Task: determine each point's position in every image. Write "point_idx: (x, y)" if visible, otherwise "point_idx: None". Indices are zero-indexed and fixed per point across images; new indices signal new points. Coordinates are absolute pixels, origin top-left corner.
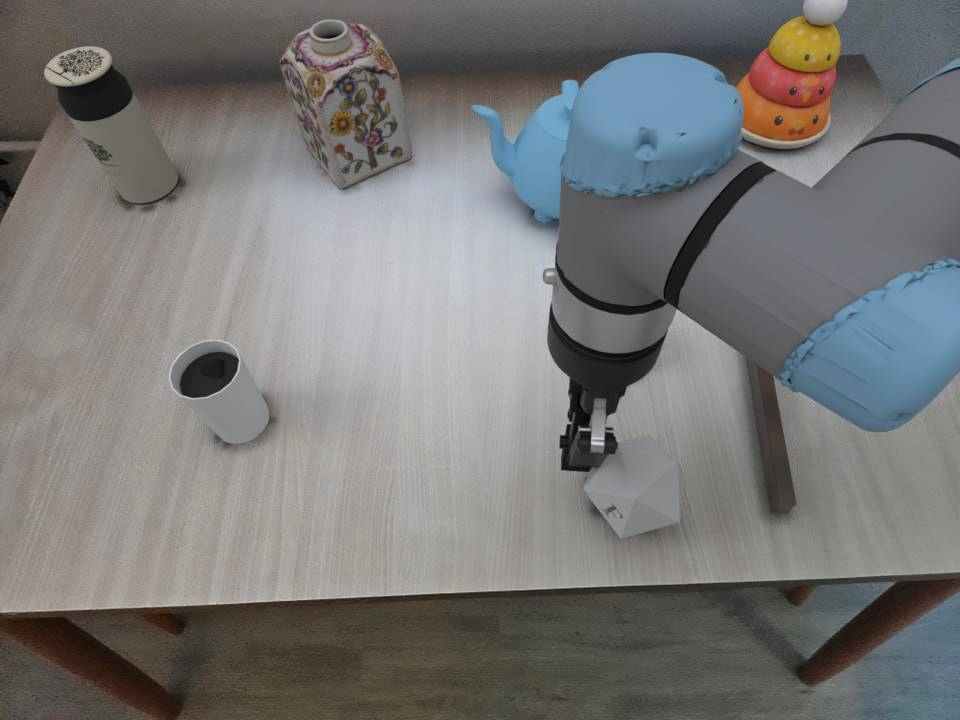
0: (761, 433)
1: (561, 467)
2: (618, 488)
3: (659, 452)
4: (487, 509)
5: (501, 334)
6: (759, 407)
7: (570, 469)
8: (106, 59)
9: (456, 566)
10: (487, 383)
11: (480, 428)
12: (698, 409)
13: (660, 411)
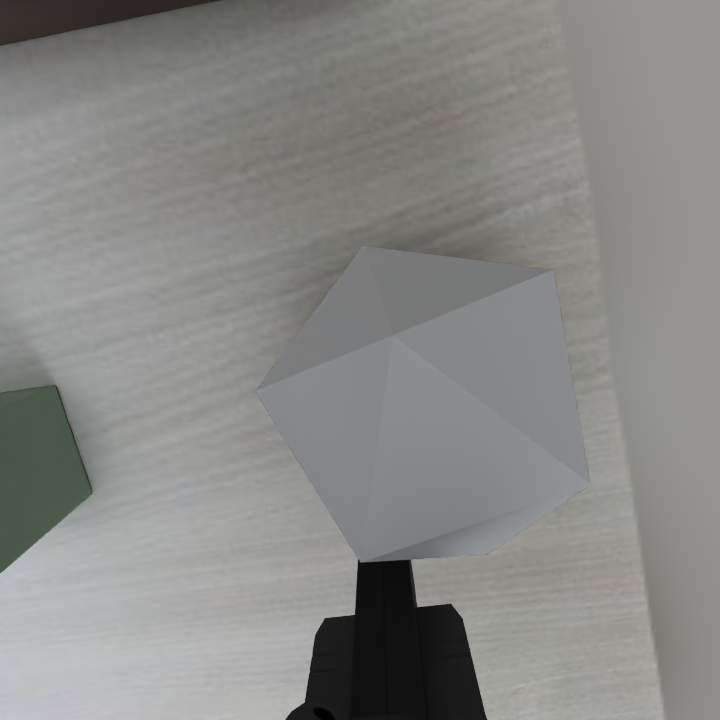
0: (114, 3)
1: (415, 594)
2: (525, 517)
3: (357, 401)
4: (490, 637)
5: (72, 680)
6: (19, 11)
7: (411, 566)
8: None
9: (616, 666)
10: (204, 684)
11: None
12: (100, 211)
13: (143, 314)
